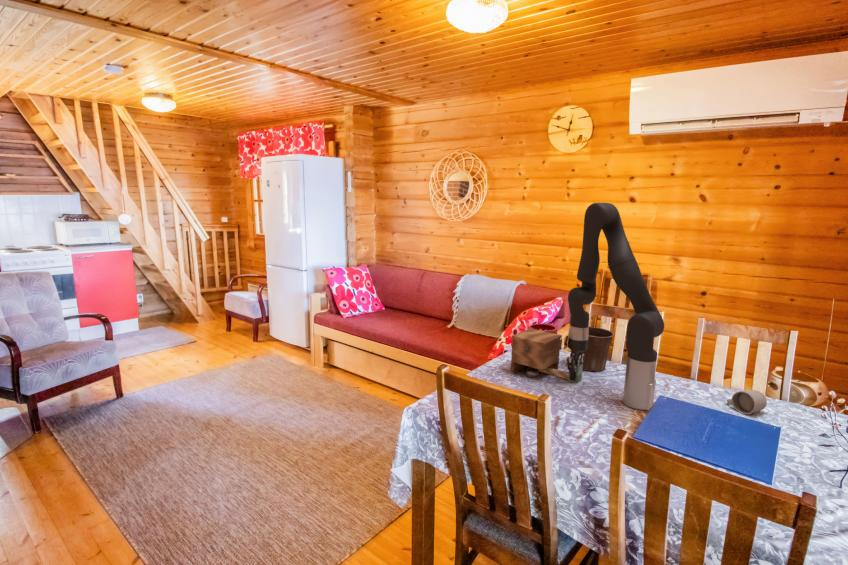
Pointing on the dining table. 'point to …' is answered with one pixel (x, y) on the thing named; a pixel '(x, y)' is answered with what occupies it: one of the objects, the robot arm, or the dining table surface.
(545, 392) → the dining table surface
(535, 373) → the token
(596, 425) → the dining table surface
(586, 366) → the plant pot
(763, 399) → the ceramic mug
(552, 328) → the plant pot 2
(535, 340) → the bread box
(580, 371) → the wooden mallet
